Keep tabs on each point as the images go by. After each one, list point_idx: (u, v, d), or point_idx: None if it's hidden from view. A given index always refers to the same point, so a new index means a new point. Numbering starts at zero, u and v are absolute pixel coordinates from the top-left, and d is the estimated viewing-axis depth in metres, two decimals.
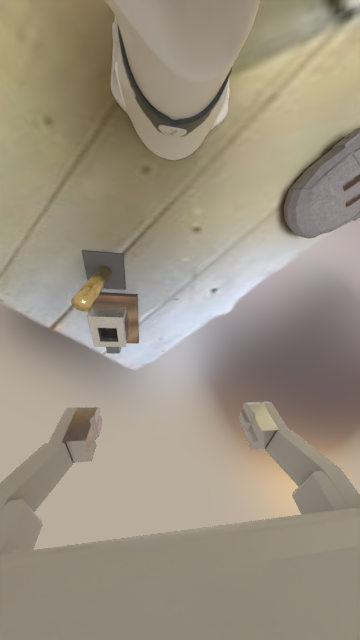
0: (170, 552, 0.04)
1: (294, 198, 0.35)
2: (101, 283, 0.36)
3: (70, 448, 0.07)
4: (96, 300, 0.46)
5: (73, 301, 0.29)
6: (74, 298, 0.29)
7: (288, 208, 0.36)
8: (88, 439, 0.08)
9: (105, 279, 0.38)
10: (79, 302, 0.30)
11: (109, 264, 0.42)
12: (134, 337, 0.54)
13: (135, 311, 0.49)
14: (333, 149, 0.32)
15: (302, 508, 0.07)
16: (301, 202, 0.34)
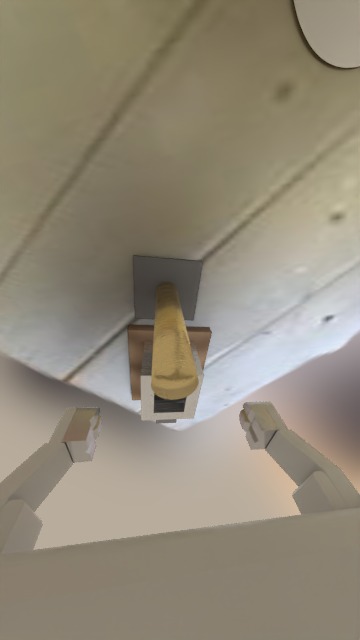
0: (170, 552, 0.04)
1: None
2: (183, 318, 0.17)
3: (70, 448, 0.07)
4: (145, 339, 0.27)
5: (156, 380, 0.11)
6: (162, 374, 0.10)
7: None
8: (88, 439, 0.08)
9: None
10: (171, 382, 0.11)
11: (176, 279, 0.24)
12: None
13: (203, 354, 0.30)
14: None
15: (302, 508, 0.07)
16: None
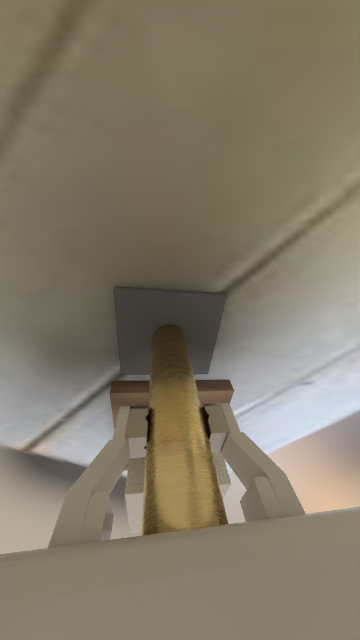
0: (170, 552, 0.04)
1: None
2: (205, 427, 0.09)
3: (131, 444, 0.08)
4: (136, 403, 0.18)
5: None
6: None
7: None
8: None
9: None
10: None
11: (184, 321, 0.15)
12: None
13: None
14: None
15: (246, 515, 0.07)
16: None
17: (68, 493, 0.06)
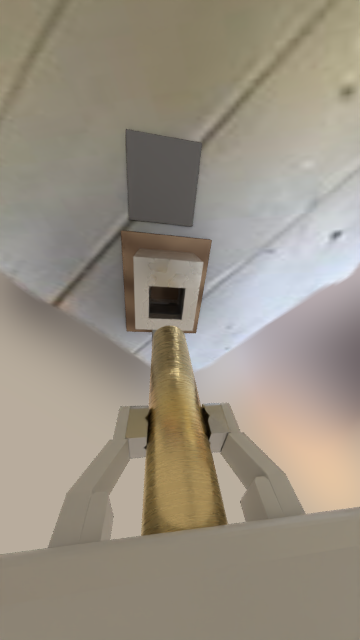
0: (170, 552, 0.04)
1: None
2: (205, 428, 0.09)
3: (131, 444, 0.08)
4: (140, 245, 0.25)
5: None
6: None
7: None
8: None
9: None
10: None
11: (173, 166, 0.22)
12: None
13: (203, 270, 0.28)
14: None
15: (246, 515, 0.07)
16: None
17: (68, 493, 0.06)
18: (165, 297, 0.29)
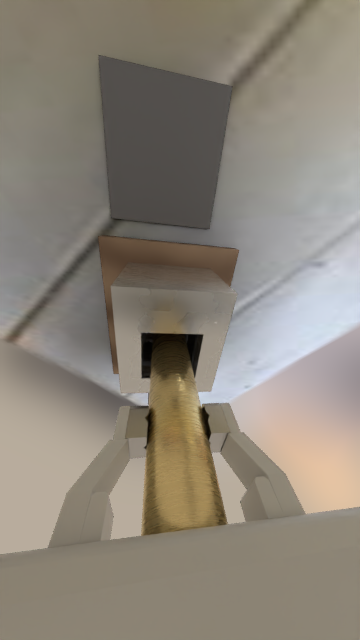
0: (170, 552, 0.04)
1: None
2: (205, 428, 0.09)
3: (131, 444, 0.08)
4: (129, 258, 0.16)
5: None
6: None
7: None
8: None
9: None
10: None
11: (183, 129, 0.13)
12: None
13: None
14: None
15: (246, 515, 0.07)
16: None
17: (68, 493, 0.06)
18: None
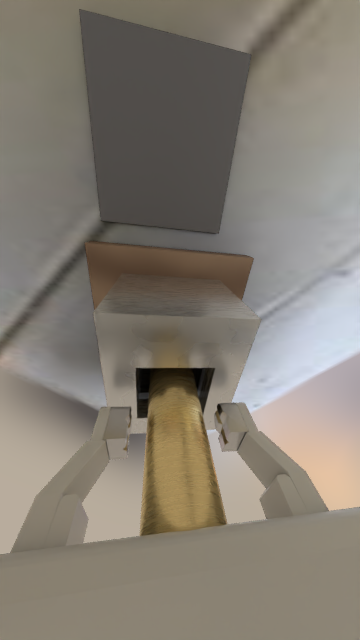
0: (170, 552, 0.04)
1: None
2: (200, 408, 0.10)
3: (109, 446, 0.08)
4: (123, 268, 0.14)
5: None
6: None
7: None
8: (126, 437, 0.08)
9: None
10: None
11: (188, 110, 0.11)
12: None
13: None
14: None
15: (267, 512, 0.07)
16: None
17: (38, 496, 0.06)
18: None
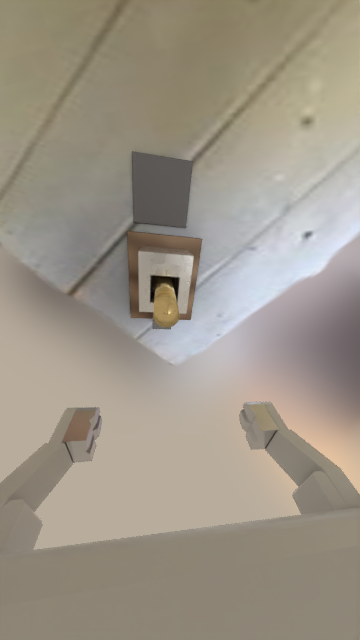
0: (170, 552, 0.04)
1: None
2: None
3: (70, 448, 0.07)
4: (142, 243, 0.30)
5: (156, 312, 0.20)
6: (159, 308, 0.19)
7: None
8: (88, 439, 0.08)
9: None
10: (164, 314, 0.20)
11: (170, 179, 0.27)
12: None
13: (195, 265, 0.33)
14: None
15: (302, 508, 0.07)
16: None
17: None
18: None
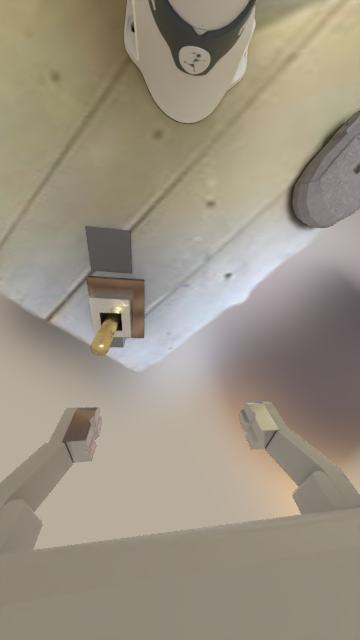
0: (170, 552, 0.04)
1: (302, 193, 0.34)
2: (116, 324, 0.37)
3: (70, 448, 0.07)
4: (99, 285, 0.41)
5: (92, 347, 0.30)
6: (93, 344, 0.30)
7: (297, 204, 0.36)
8: (88, 439, 0.08)
9: (119, 318, 0.40)
10: (97, 347, 0.31)
11: (115, 243, 0.38)
12: (139, 331, 0.48)
13: (141, 299, 0.44)
14: (334, 138, 0.32)
15: (302, 508, 0.07)
16: (311, 195, 0.33)
17: None
18: None
